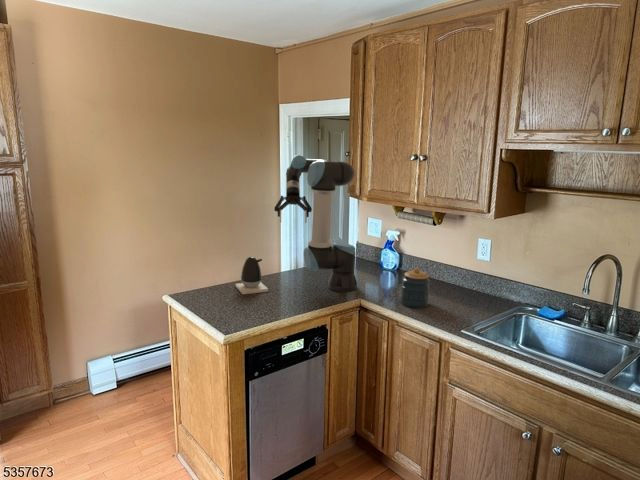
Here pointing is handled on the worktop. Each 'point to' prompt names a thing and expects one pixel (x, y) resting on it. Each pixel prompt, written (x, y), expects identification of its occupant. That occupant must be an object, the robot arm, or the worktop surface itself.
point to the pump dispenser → (251, 272)
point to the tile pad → (248, 290)
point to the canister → (415, 289)
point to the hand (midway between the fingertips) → (293, 221)
